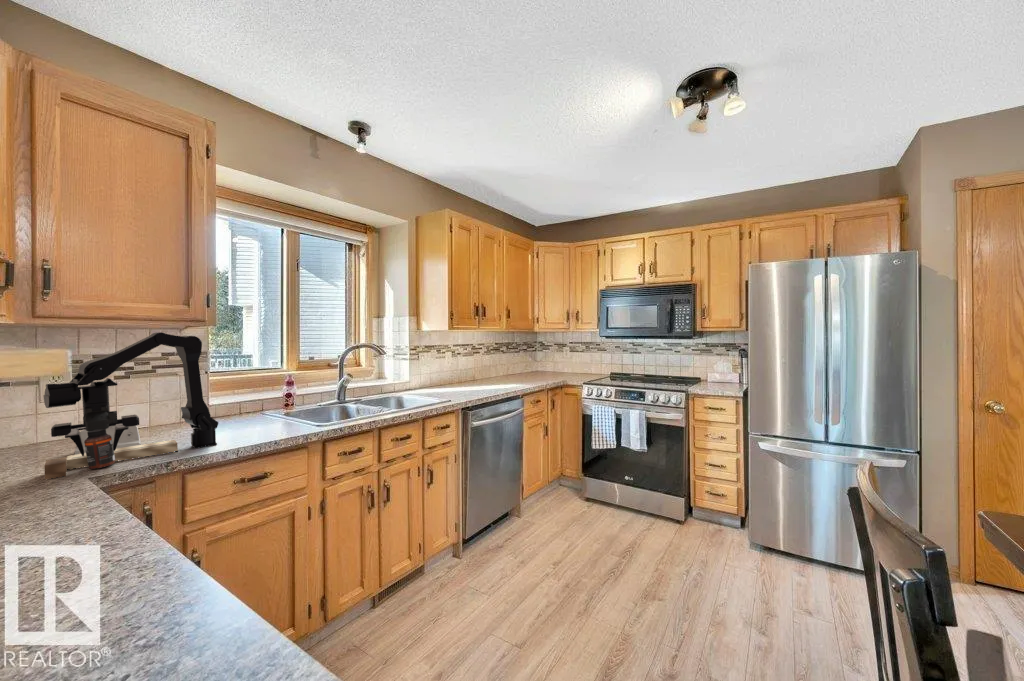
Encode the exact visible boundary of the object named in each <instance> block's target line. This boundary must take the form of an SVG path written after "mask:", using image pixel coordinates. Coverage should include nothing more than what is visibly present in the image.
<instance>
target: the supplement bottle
mask: <svg viewBox="0 0 1024 681" xmlns="http://www.w3.org/2000/svg"><path fill="white" fill-rule="evenodd" d="M87 433H88V438H87V439H86V440H85V441H84V443H85V450H86V456H87V461H88V468H89V469H91V470H96V469H95V468H97V469H102V467H103V468H106V467H110V466H112V465H113V464H115V463H116V462H115V456H114V451H113V444H112V438H111V436H110V435H108V434H107V433H106V429H99V430H93V431H88V432H87Z"/></svg>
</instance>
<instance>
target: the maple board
mask: <svg viewBox="0 0 1024 681" xmlns="http://www.w3.org/2000/svg"><path fill="white" fill-rule="evenodd" d="M174 451H178V442H177V441H176V439H171V440H165V441H159V442H151V443H145V444H141V445H137V446H130V447H124V448H117V449H116V450H115V451H114V456H115V461H118V460H124V461H126V460H125V459H130V460H133V459H132V458H136V459H139V458H138V457H143V458H145V457H144V456H149V457H152V456H151V455H155V456H158V455H157V454H161V455H164V454H163V453H167V454H169V453H168V452H173V453H175V452H174ZM66 459H67V469H70V470H74V469H73V468H76V469H80V468H79V467H82V468H85V467H84V466H88V461H87V456H86V453H84V456H82V455H81V454H77V455H75V454H72V455H67V456H66ZM118 462H119V461H118ZM88 467H89V466H88Z"/></svg>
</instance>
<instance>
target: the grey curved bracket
mask: <svg viewBox="0 0 1024 681" xmlns="http://www.w3.org/2000/svg"><path fill="white" fill-rule="evenodd" d="M87 432H88V431H86V430H80V436H81V440H82V444H83V448H84V453H86V450H85V443H84V441H85V440H86V439H87V438H88V433H87ZM114 432H115V426H109V428H107V429H106V433H107V434H108V435H110V436H111V438H112V444H113V441H114ZM137 445H142V441H141V437H140V431H139V427H138V425H137V426H130V427H129V429H127V430H124V431H123V433H122V435H121V436H120V439H119V441H118V444H117V447H116V449H117V448H124V447H130V446H137ZM77 454H81V453H80V451H79V449H78V447H77V445H76V444H75V448H74V455H77Z"/></svg>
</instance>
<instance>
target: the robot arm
mask: <svg viewBox="0 0 1024 681" xmlns="http://www.w3.org/2000/svg"><path fill="white" fill-rule="evenodd" d="M159 346H165V347H166V346H167V347H171V348H175V350H176V353H177V356H178V357H179V359H180V360H181V362H182V370H183V376H184V385H185V393H186V404H185V406H180V410H181V419H183V420H184V422H185V423H187V424H188V425H189V426H190V428H191V429H192V433H190V445H191V446H192V447H193V446H194V447H195V448H194V447H193V448H194V449H199V448H198V447H200V448H205V446H206V447H212V446H217V445H218V443H217V440H216V435H217V433H216V429H217V428H218V425H219V422H218V421H217V420H215V419H214V418H212V416H211V412H210V409H209V407H208V406H207V403H206V402H205V400H204V396H203V394H204V393H203V387H202V379H201V370H200V362H199V361H200V358H201V354H202V349H203V348H202V347H203V342H202V339H201V338H199V337H198V336H196V335H182V336H180V335H177V334H170V333H169V334H168V333H166V332H162V331H161V332H155V331H154V332H153V333H151V334H149V335H148V336H147V337H144V338H142V339H139V340H138V341H136V342H134V343H131V344H130V345H128V346H126V347H123V348H122V349H120V350H117V351H115V352H113V353H109V354H107V355H104V356H100V357H96V358H94V359H93V358H92V359H90V360H88V361H84V362H83V363H81V364H80V365H79V367H78V372H77V374H76V375H74V377H73V378H72V379H71V380H70V381H69V382H63V383H61V382H60V383H45V389H44V394H43V403H44V406H45V408H46V409H51V408H59V407H61V408H62V407H68V406H75V405H76V404H77V403H79V402H80V401H81V400H82V401H81V402H82V414H83V415H82V423H79V424H72V422H64V423H63V422H62V423H55V424H54V425H52V426H51V429H50V434H51V435H50V437H51V438H55V437H63V436H64V438H65V439H71V441H73V443H74V444H75V446H76V445H77V447H78V449H79V451H80V453H81V455H82V456H84V448H83V444H82V440H81V436H80V432H81V431H83V430H86V431H93V430H99V429H107V428H109V426H115V432H114V441H113V451H115V450H116V447H117V444H118V441H119V439H120V436H121V435H122V433H123V431H124V430H127V429H129V427H130V426H137V427H138V426H140V418H139V416H138V415H137V414H127V415H121V418H118V411H117V410H113V411H111V410H110V392H109V390H110V389H109V387H114V386H115V387H116V386H118V383H117V382H115V381H113V380H112V379H111V378H109V376H111V375H112V374H113V373H115V372H116V371H117V370H118V369H119V368H120V367H121V366H122V365H124V364H125V363H128V362H130V361H132V360H134V359H136V358H137V357H140V356H142V355H143V354H146V353H147V352H150V351H152V350H154V349H156V348H157V347H159ZM102 380H103V381H102Z"/></svg>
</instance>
